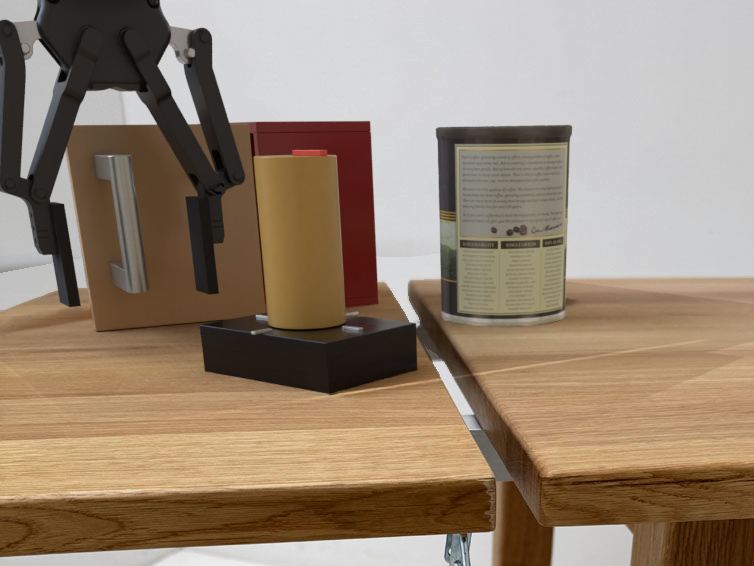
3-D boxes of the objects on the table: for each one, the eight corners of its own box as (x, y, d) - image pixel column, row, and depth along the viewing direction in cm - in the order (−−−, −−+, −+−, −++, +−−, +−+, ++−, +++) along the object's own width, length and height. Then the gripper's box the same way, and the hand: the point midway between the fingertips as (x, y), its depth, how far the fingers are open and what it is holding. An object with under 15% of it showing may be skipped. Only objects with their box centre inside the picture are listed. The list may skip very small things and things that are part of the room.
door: (292, 327, 79) (276, 122, 73) (112, 344, 73) (78, 124, 67) (262, 314, 85) (245, 123, 79) (93, 329, 79) (60, 125, 73)
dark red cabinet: (273, 316, 85) (256, 121, 79) (214, 297, 95) (195, 124, 89) (378, 305, 90) (370, 120, 84) (312, 288, 100) (300, 123, 94)
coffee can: (413, 317, 83) (407, 126, 77) (503, 303, 90) (504, 125, 84) (502, 333, 77) (503, 124, 71) (592, 316, 83) (600, 124, 77)
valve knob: (252, 324, 63) (235, 150, 59) (307, 314, 67) (295, 149, 62) (307, 332, 60) (293, 150, 56) (362, 321, 64) (353, 149, 60)
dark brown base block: (198, 374, 65) (192, 323, 63) (300, 351, 71) (296, 304, 70) (323, 397, 59) (319, 341, 57) (422, 370, 65) (421, 319, 64)
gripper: (233, -55, 72) (263, 280, 81) (-114, -83, 61) (-33, 305, 71) (276, -72, 66) (303, 290, 75) (-99, -107, 55) (-12, 320, 65)
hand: (141, 297), depth 73 cm, fingers open, 9 cm apart
